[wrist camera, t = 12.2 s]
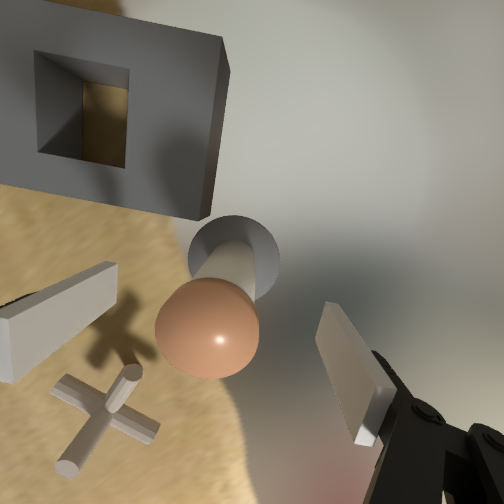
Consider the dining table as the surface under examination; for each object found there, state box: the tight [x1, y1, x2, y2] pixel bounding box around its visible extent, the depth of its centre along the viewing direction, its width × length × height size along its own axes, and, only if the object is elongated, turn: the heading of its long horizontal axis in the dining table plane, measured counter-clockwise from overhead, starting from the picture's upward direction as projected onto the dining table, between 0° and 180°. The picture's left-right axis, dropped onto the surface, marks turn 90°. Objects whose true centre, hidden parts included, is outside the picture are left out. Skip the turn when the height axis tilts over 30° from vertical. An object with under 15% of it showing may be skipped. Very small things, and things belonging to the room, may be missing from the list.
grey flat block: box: [0, 0, 230, 221], centre depth 19 cm, size 18×12×4 cm, turn 79°
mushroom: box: [155, 240, 259, 379], centre depth 17 cm, size 5×5×12 cm
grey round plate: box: [188, 215, 280, 300], centre depth 23 cm, size 9×9×1 cm
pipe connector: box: [50, 363, 160, 478], centre depth 22 cm, size 10×10×10 cm
